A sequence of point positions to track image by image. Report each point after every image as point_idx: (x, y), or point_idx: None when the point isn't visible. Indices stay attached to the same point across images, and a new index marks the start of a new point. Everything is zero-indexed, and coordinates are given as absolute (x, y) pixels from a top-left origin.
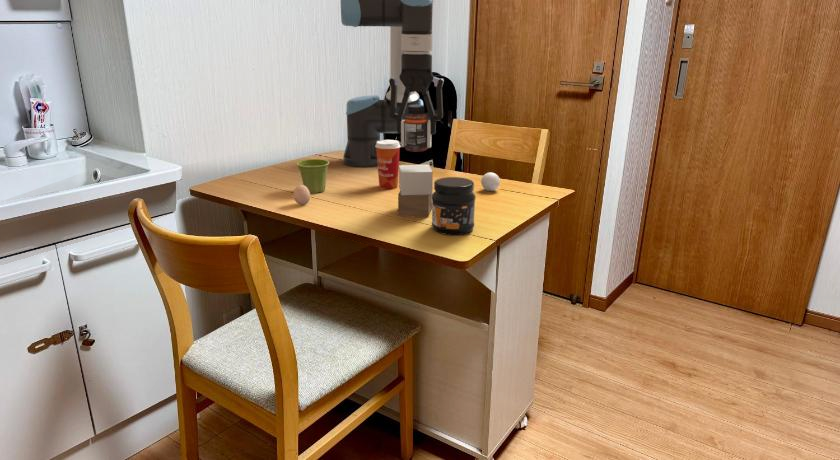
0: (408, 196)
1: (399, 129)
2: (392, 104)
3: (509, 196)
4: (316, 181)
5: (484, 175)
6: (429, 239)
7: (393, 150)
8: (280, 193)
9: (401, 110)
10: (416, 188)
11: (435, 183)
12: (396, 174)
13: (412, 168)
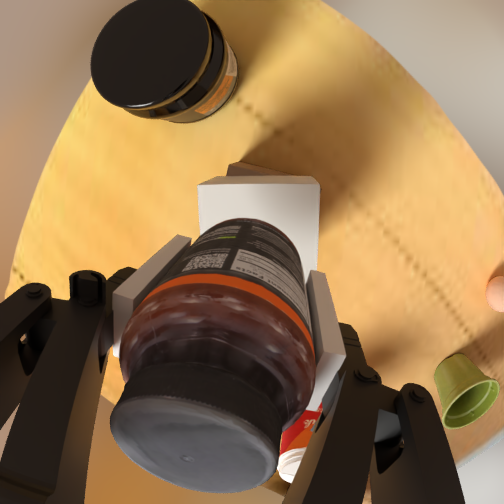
0: None
1: (343, 337)
2: (439, 469)
3: (68, 294)
4: (463, 366)
5: None
6: (253, 18)
7: (299, 445)
8: (499, 351)
9: (353, 426)
10: (264, 177)
11: (206, 28)
12: None
13: None
